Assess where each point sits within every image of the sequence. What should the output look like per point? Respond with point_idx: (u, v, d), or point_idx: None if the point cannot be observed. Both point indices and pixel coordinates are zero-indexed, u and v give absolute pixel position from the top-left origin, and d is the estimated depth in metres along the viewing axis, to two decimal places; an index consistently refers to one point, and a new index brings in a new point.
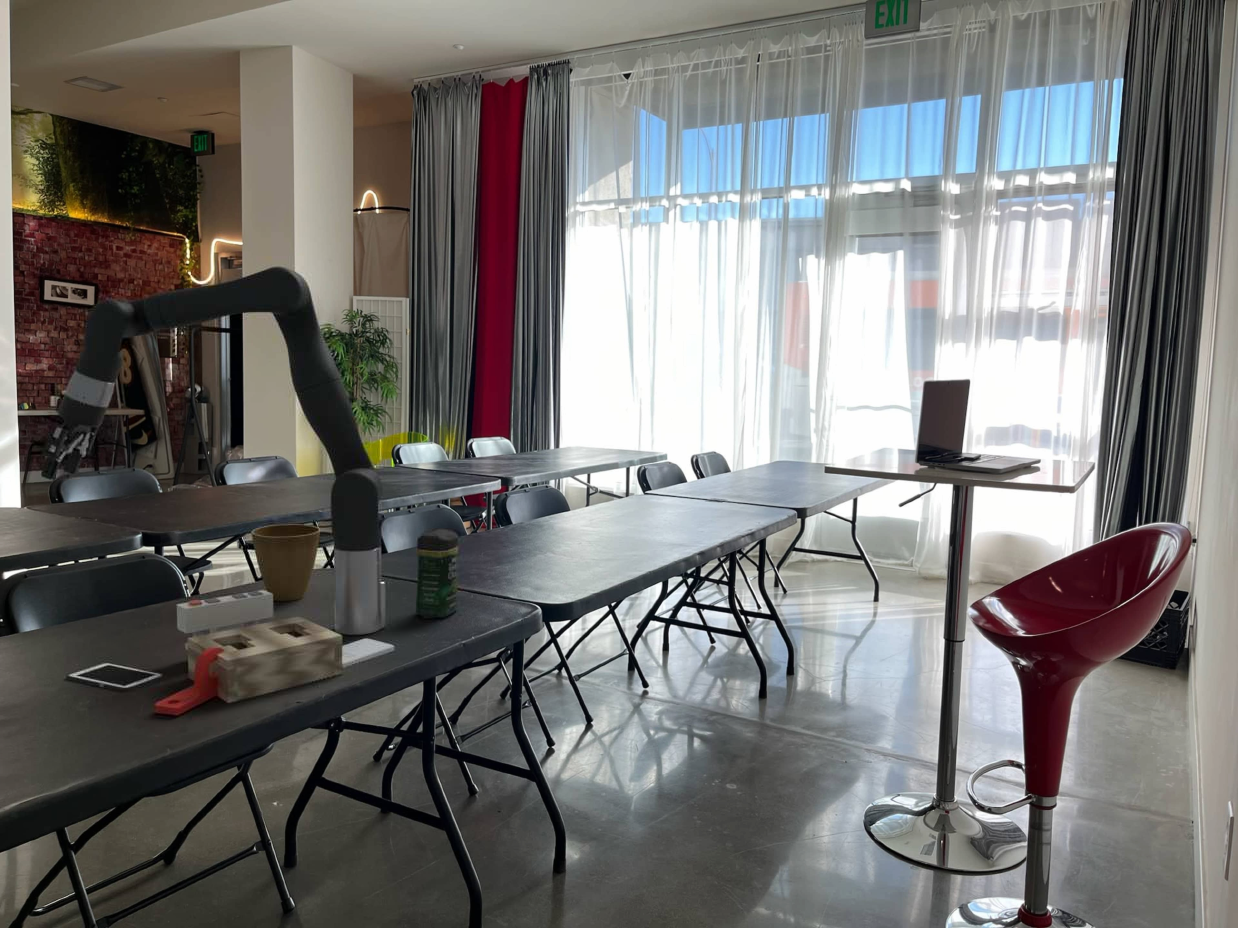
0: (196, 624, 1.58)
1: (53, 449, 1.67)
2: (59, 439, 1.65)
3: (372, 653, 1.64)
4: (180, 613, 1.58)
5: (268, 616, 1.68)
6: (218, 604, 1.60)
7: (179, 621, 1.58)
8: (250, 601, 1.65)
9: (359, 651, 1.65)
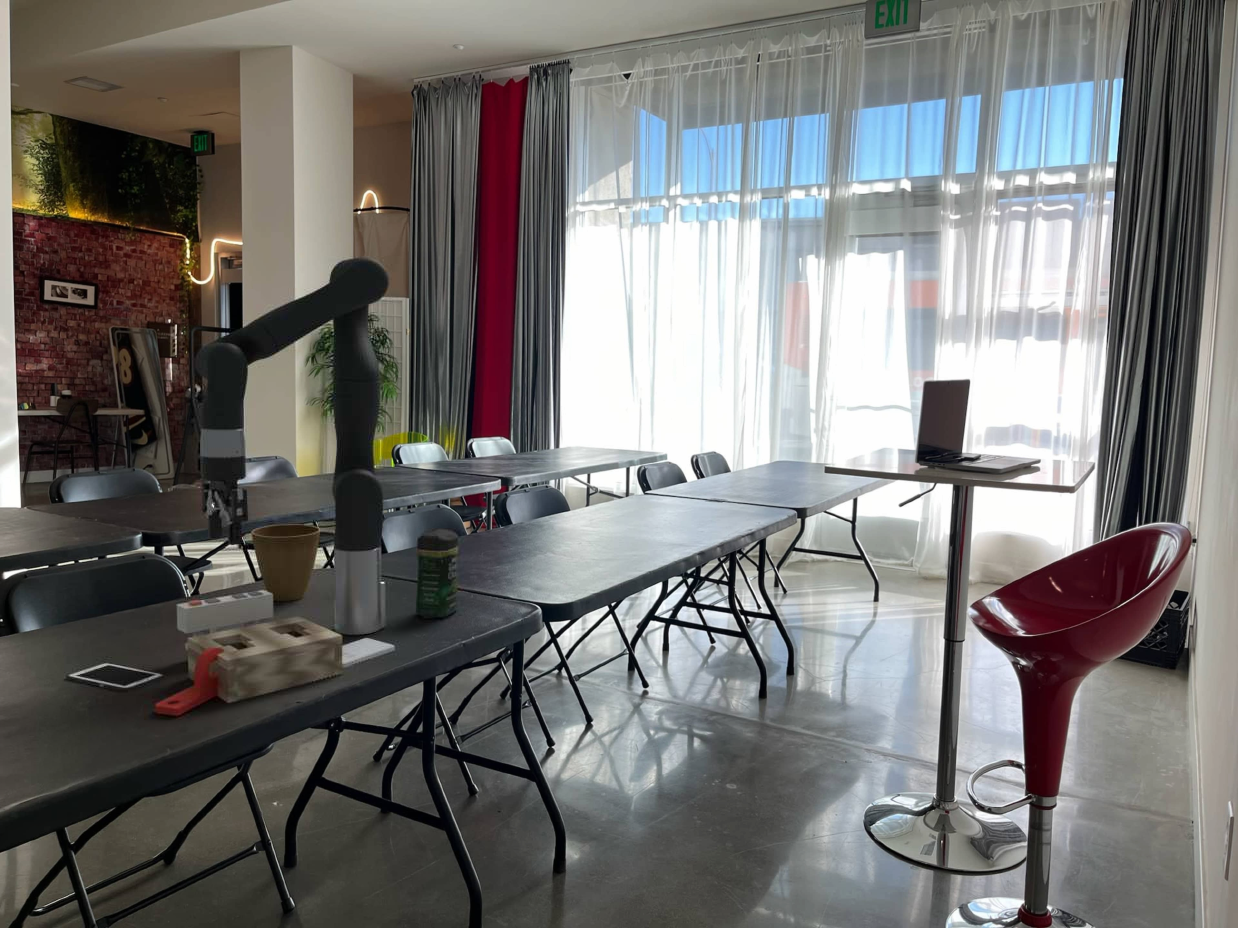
0: (196, 624, 1.58)
1: None
2: (245, 499, 1.57)
3: (373, 653, 1.64)
4: (180, 613, 1.58)
5: (268, 616, 1.68)
6: (218, 604, 1.60)
7: (179, 621, 1.58)
8: (250, 601, 1.65)
9: (359, 651, 1.65)
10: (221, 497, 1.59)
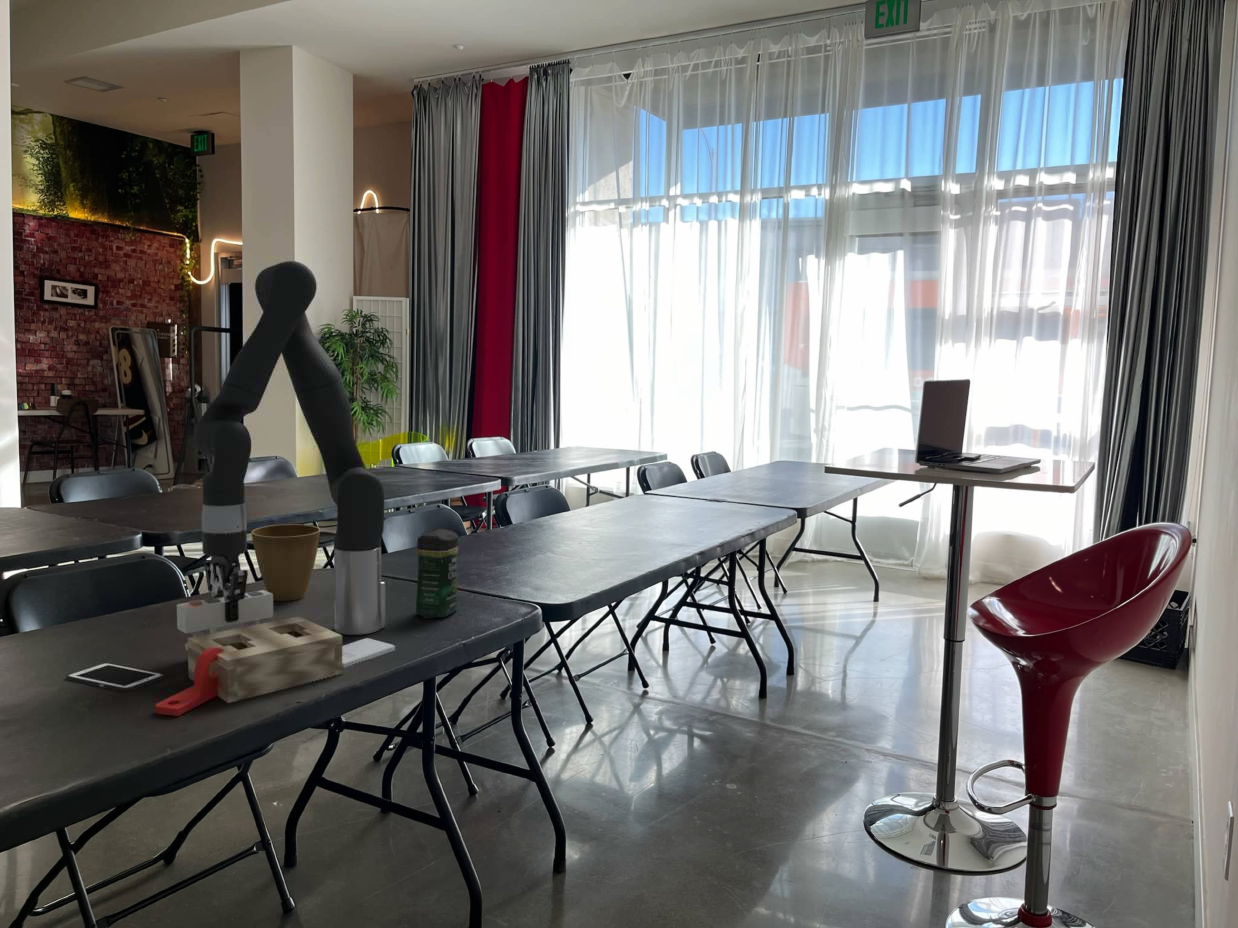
0: (196, 624, 1.58)
1: None
2: (244, 581, 1.59)
3: (373, 653, 1.65)
4: (180, 613, 1.58)
5: (268, 616, 1.68)
6: (218, 604, 1.60)
7: (179, 621, 1.58)
8: (250, 601, 1.65)
9: (360, 651, 1.65)
10: (222, 574, 1.60)
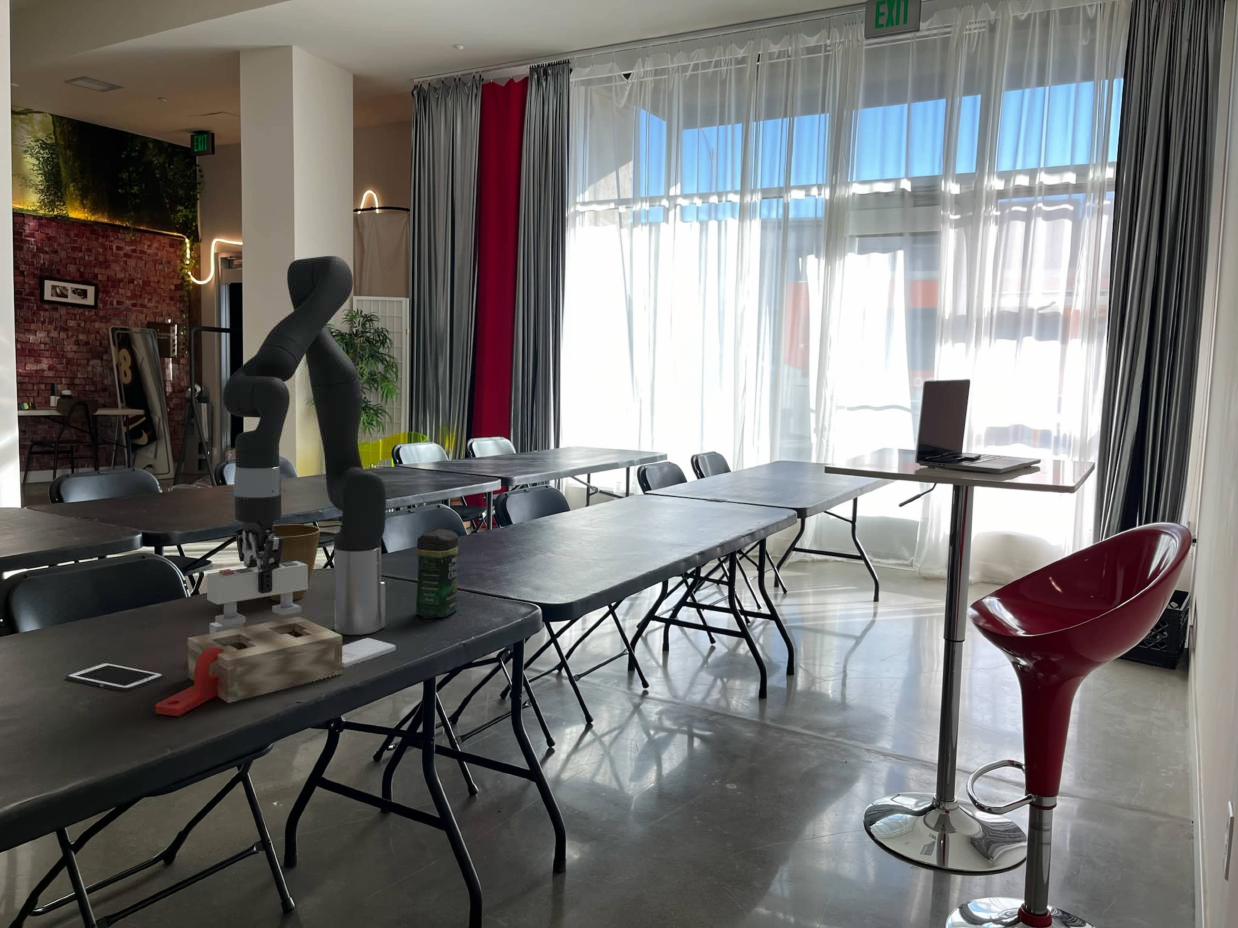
0: (228, 595, 1.48)
1: None
2: (279, 549, 1.49)
3: (374, 653, 1.65)
4: (210, 583, 1.48)
5: (302, 588, 1.57)
6: (251, 574, 1.50)
7: (209, 591, 1.48)
8: (284, 572, 1.54)
9: (360, 651, 1.65)
10: (255, 541, 1.50)
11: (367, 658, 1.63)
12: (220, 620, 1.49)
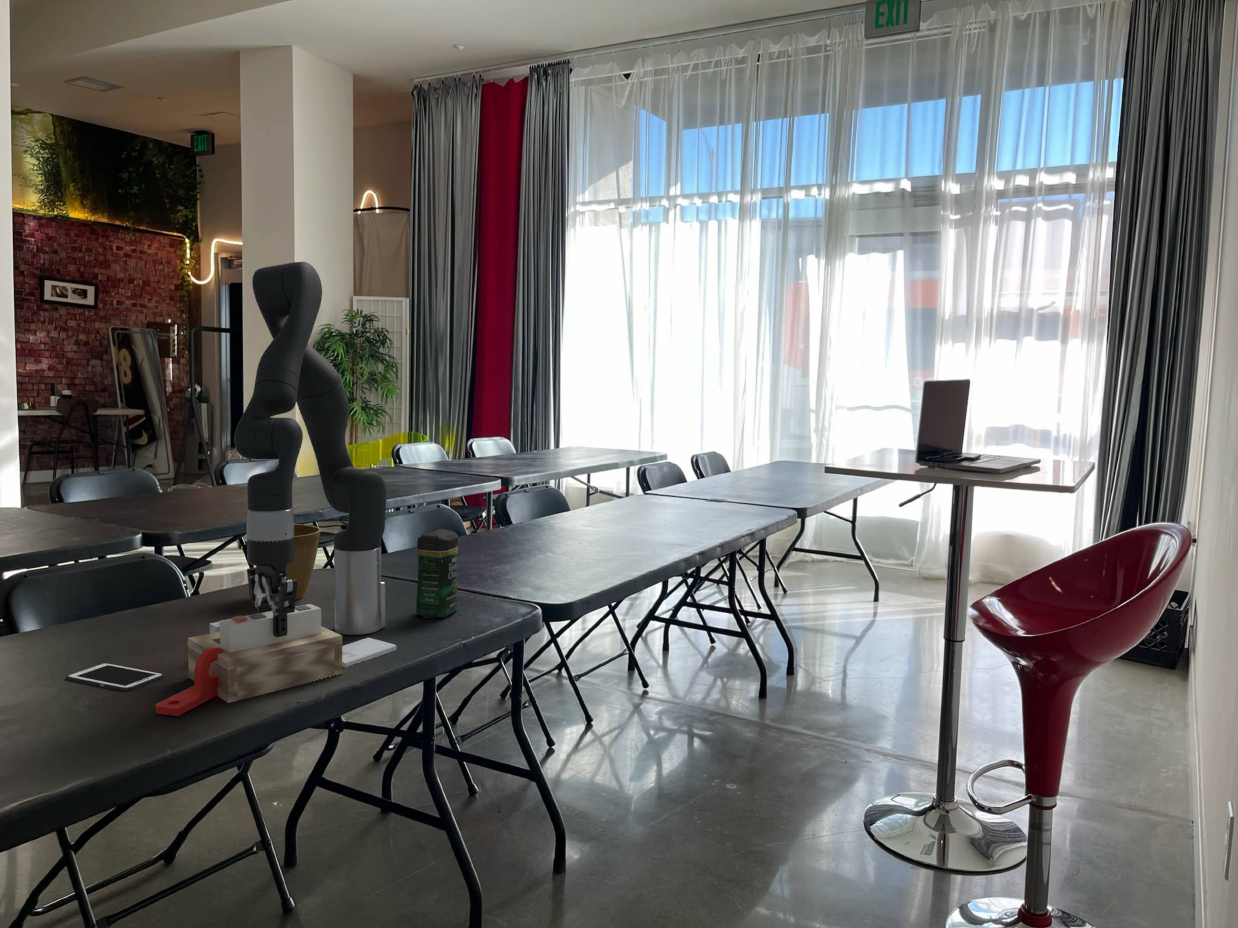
0: (241, 642, 1.45)
1: None
2: (294, 591, 1.46)
3: (374, 653, 1.65)
4: (224, 630, 1.45)
5: (316, 632, 1.55)
6: (264, 620, 1.48)
7: (222, 639, 1.46)
8: (297, 617, 1.52)
9: (361, 651, 1.65)
10: (269, 584, 1.48)
11: (368, 658, 1.63)
12: None
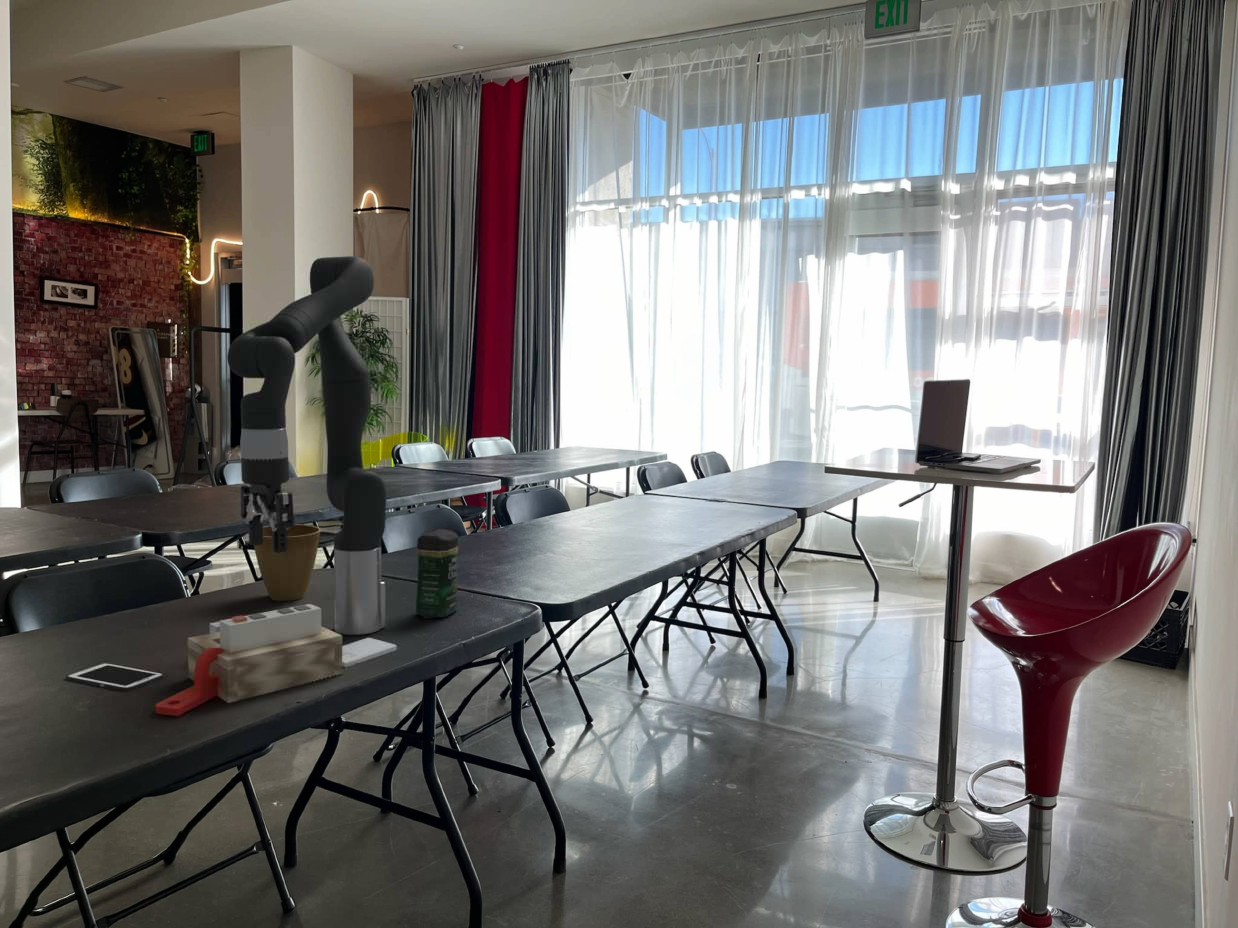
0: (241, 642, 1.45)
1: None
2: (290, 504, 1.47)
3: (375, 653, 1.65)
4: (224, 630, 1.45)
5: (316, 632, 1.55)
6: (264, 620, 1.48)
7: (222, 639, 1.46)
8: (297, 617, 1.52)
9: (361, 651, 1.65)
10: (264, 502, 1.48)
11: (368, 658, 1.63)
12: None
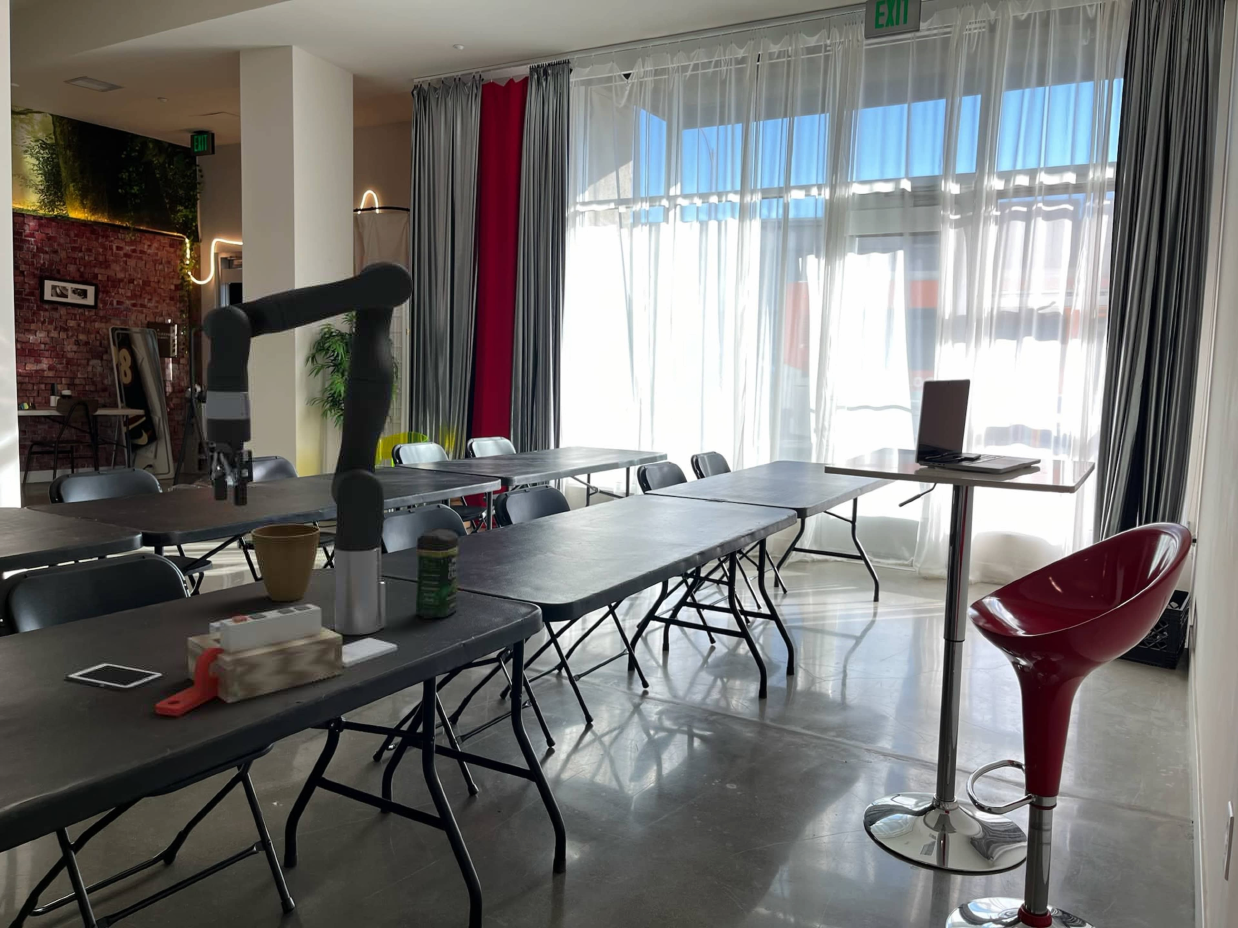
0: (241, 642, 1.45)
1: None
2: (250, 460, 1.59)
3: (375, 653, 1.65)
4: (224, 630, 1.45)
5: (316, 632, 1.55)
6: (264, 620, 1.48)
7: (222, 639, 1.46)
8: (297, 617, 1.52)
9: (362, 651, 1.65)
10: (226, 459, 1.61)
11: (368, 658, 1.64)
12: None
